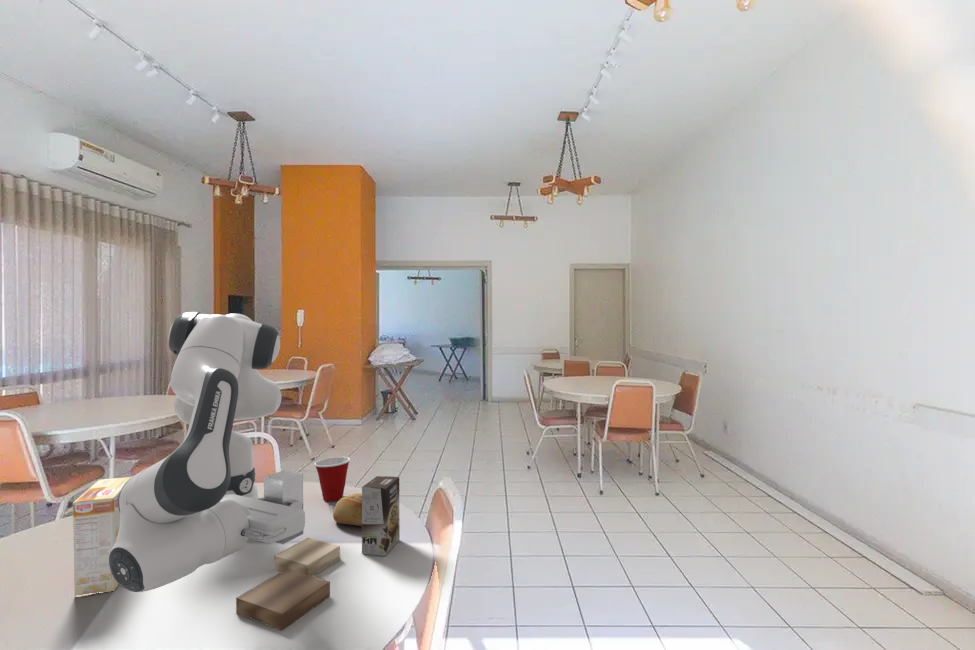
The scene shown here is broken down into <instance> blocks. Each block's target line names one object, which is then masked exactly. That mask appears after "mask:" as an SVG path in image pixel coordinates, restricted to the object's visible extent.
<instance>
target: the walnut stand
mask: <svg viewBox="0 0 975 650" xmlns="http://www.w3.org/2000/svg"><path fill="white" fill-rule="evenodd" d="M330 597H331V581H329V580H326V579H323V578H318V577H315V576H314V575H313V576H309V575H306V574H303V573H299V572H296V571H292V570H289V569H285V570H283V571H280V572H278V573H276V574H275V575H273V576H271V577H269V578H268V579H266V580H265V581H262V582H260V583H259V584H257V585H256V586H253V587H252V588H250V589H249V590H247V591H245V592H244V593H241V594H240V595H239V596H237V597H235V603H236V606H235V609H236V610H235V611H236V613H235V614H237V615H239V616H243V617H244V618H249V619H251V620H253V621H256V622H259V623H262V624H264V625H265V626H266V625H267V626H269V627H272V628H275V629H278V630H280V631H283V630H285V629H286V628H288V627H289V626H290V625H292V624H293V623H295V622H296V621H297V620H299V619H300V618H302V617H304V616H305V615H306V614H307V613H309V612H310V611H312V610H313V609H314V608H316V607H317V606H319V605H320V604H322V603H323V602H324V601H326V600H327V599H328V598H330Z"/></svg>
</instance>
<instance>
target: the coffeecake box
mask: <svg viewBox="0 0 975 650" xmlns="http://www.w3.org/2000/svg"><path fill="white" fill-rule="evenodd" d="M131 477H132V476H127V477H115V478H104V479H103V478H102V479H98V480H97V481H96V482H95V483H93V485H91V486H90V487H89V488H87V490H86V491H84V492H83V493H82V494H80V496H79V497H77V499H75V500H74V501H73V502H72V503H71V504H72V516H73V517H72V519H73V521H72V523H73V525H72V526H73V527H72V528H73V567H74V568H73V569H74V570H73V572H74V574H73V575H74V577H73V578H74V580H73V581H74V583H73V584H74V597H75V596H76V595H83V594H89V593H97V592H98V593H99V592H108V593H111V592H110V591H113V592H115V590H116V589H117V588H118V586H120V585H119V584H118V582H117V581H116V580H115V579H114V577H113V575H112V573H111V570H110V565H109V555H110V552H111V550H112V548H113V546H114V544H115V542H116V540H117V536H118V532H119V527H120V511H119V507H118V499H119V494H120V491H121V489H122V487H123V486H124V484H125V483H126V482H127V481H128V480H129V479H130V478H131Z"/></svg>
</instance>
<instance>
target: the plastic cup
mask: <svg viewBox="0 0 975 650" xmlns="http://www.w3.org/2000/svg"><path fill="white" fill-rule="evenodd" d="M350 461H351V458H350V457H349V456H334V457H332V456H331V457H329V458H323V459H320V460H317V461H315V462H314V463H313V465H314V467H315V470H316V472H317V475H318V481H319V486H320V490H321V495H322V499H323V501H324V502H330V503H331V502H338V501H339V500H340V499H341V498H344V494H345V493H344V492H345V487H346V482H347V481H346V479H347V474H348V469H349V463H350Z"/></svg>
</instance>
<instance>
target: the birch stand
mask: <svg viewBox="0 0 975 650" xmlns="http://www.w3.org/2000/svg"><path fill="white" fill-rule="evenodd" d="M340 559H341V545H338V544H334V543H330V542H326V541H323V540H318V539H314V538H310V537H307V538H305V539H303V540H300V542H297V543H295V544H293V545H292V546H289V547H288V548H286V549H284V550H282V551H280V552H278V553H277V554H275V555H273V561H274V562H273V568H274V570H276V571H280V572H282V571H283V570H285V569H289V570H292V571H296V572H299V573H303V574H306V575H309V576H313V577H314V576H315V575H317V574H318V573H320V572H321V571H324V569H326V568H327V567H330V565H332V564H334V563H335V562H337V561H338V560H340Z"/></svg>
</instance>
